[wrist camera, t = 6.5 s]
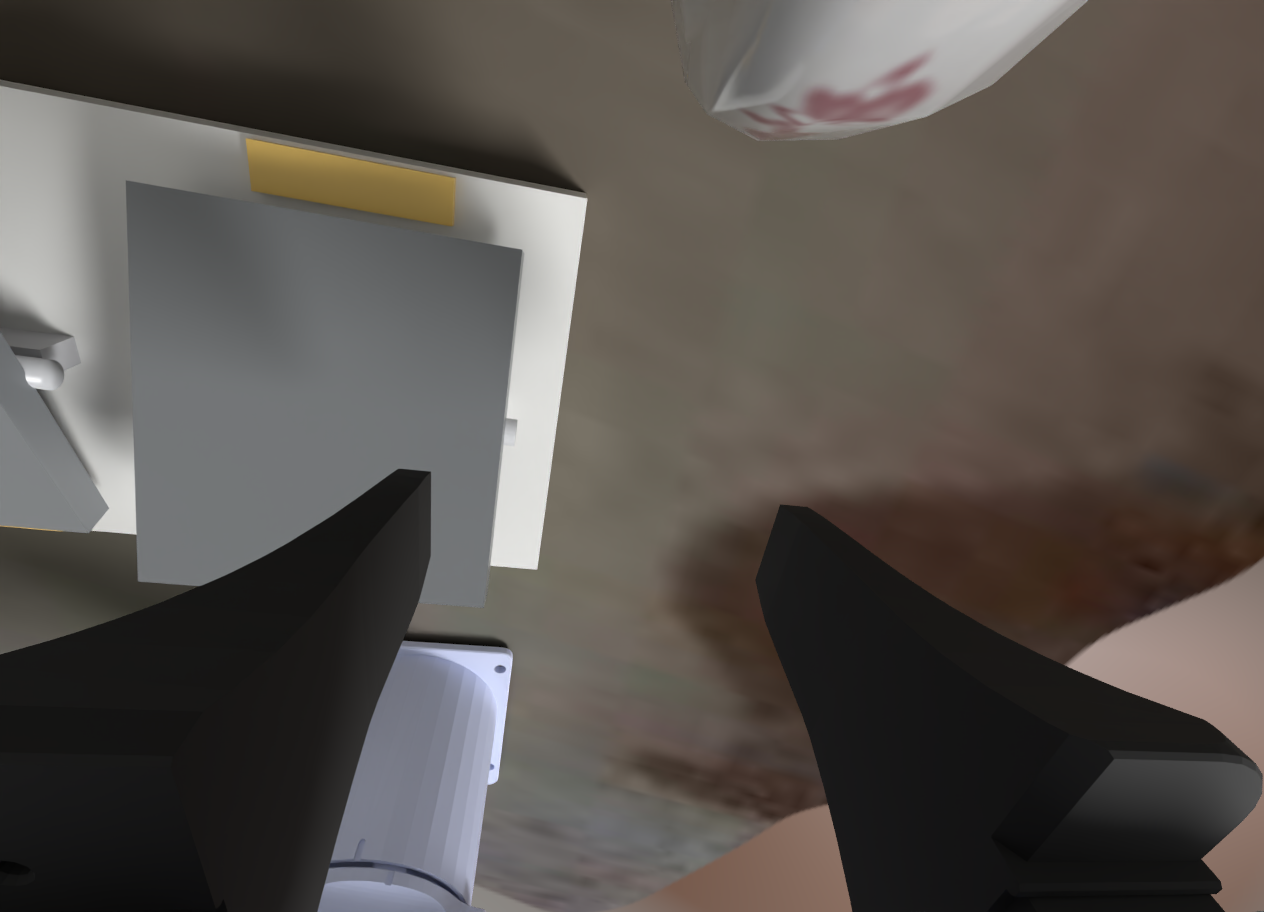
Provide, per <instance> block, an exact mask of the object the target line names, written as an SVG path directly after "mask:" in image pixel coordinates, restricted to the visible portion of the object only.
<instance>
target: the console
mask: <svg viewBox="0 0 1264 912" xmlns="http://www.w3.org/2000/svg"><path fill="white" fill-rule="evenodd" d="M126 180H127V181H133V182H138V183H144V184H150V185H155V186H161V187H167V188H173V189H178V190H184V191H190V192H195V193H201V194H207V195H213V196H218V197H224V198H230V199H236V200H241V201H247V202H253V203H258V204H264V205H270V206H276V207H281V208H287V209H293V210H298V211H304V212H310V213H316V214H321V215H327V216H333V217H338V218H344V219H350V220H356V221H361V222H367V223H373V224H378V225H384V226H390V227H396V228H401V229H407V230H413V231H418V232H424V233H430V234H436V235H441V236H447V237H453V238H459V239H464V240H470V241H476V242H481V243H487V244H493V245H499V246H504V247H510V248H516V249H521V250H523V252H524V261H523V270H522V279H521V288H520V298H519V307H518V316H517V325H516V334H515V344H514V353H513V362H512V371H511V380H510V390H509V399H508V408H507V417H506V418H510V419H518V422H517V432H516V440H515V446H507V445H503V454H502V463H501V472H500V482H499V491H498V500H497V509H496V518H495V528H494V537H493V546H492V555H491V564H490V566H501V567H513V568H524V569H536V570H537V566H538V559H539V551H540V544H541V537H542V529H543V522H544V514H545V507H546V500H547V492H548V485H549V478H550V470H551V463H552V455H553V448H554V441H555V433H556V426H557V419H558V411H559V404H560V396H561V389H562V382H563V374H564V367H565V359H566V352H567V345H568V337H569V330H570V323H571V315H572V308H573V300H574V293H575V286H576V278H577V271H578V264H579V256H580V249H581V241H582V234H583V227H584V219H585V212H586V205H587V195H586V193H583V192H578V191H573V190H568V189H562V188H557V187H552V186H547V185H542V184H537V183H531V182H526V181H521V180H516V179H511V178H506V177H500V176H495V175H490V174H485V173H480V172H475V171H469V170H464V169H459V168H454V167H449V166H444V165H438V164H433V163H428V162H423V161H418V160H413V159H408V158H402V157H397V156H392V155H387V154H382V153H377V152H371V151H366V150H361V149H356V148H351V147H346V146H340V145H335V144H330V143H325V142H320V141H315V140H309V139H304V138H299V137H294V136H289V135H284V134H278V133H273V132H268V131H263V130H258V129H253V128H248V127H242V126H237V125H232V124H227V123H222V122H217V121H211V120H206V119H201V118H196V117H191V116H186V115H180V114H175V113H170V112H165V111H160V110H155V109H149V108H144V107H139V106H134V105H129V104H124V103H118V102H113V101H108V100H103V99H98V98H93V97H88V96H82V95H77V94H72V93H67V92H62V91H57V90H51V89H46V88H41V87H36V86H31V85H26V84H20V83H15V82H10V81H5V80H0V332H1V333H2V335H3V337H4V338H5V340H6V341H7V343H8V345H9V346H10V348H11V350H12V351H13V353H14V354H15V355H19V356H27V357H35V358H42V359H50V360H56V361H58V362H59V363H60V364H61V365H62V367H63V369H64V380H63V383H62V384H61V386H60V387H59V388H57V389H55V390H44V389H36V390H37V392H38V393H39V395H40V397H41V398H42V400H43V402H44V403H45V405H46V406H47V408H48V410H49V411H50V413H51V415H52V416H53V418H54V419H55V421H56V423H57V424H58V426H59V427H60V429H61V431H62V432H63V434H64V436H65V437H66V439H67V440H68V442H69V444H70V445H71V447H72V449H73V450H74V452H75V453H76V455H77V457H78V458H79V460H80V462H81V463H82V465H83V466H84V468H85V470H86V471H87V473H88V475H89V476H90V478H91V479H92V481H93V483H94V484H95V486H96V488H97V489H98V491H99V492H100V494H101V496H102V497H103V499H104V501H105V502H106V504H107V505H108V507H109V509H108V511H107V512H106V513H105V514H104V515H103V517H102V518H101V519H100V520H99V521H98V523H97V524H96V525H95V526H94V527H93V529H92V530H91V531H102V532H114V533H125V534H136V503H135V470H134V437H133V404H132V372H131V339H130V306H129V274H128V241H127V208H126ZM4 527H11V526H4ZM16 528H23V527H16ZM27 529H34V528H27ZM39 530H46V529H39ZM50 531H57V530H50Z"/></svg>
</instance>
